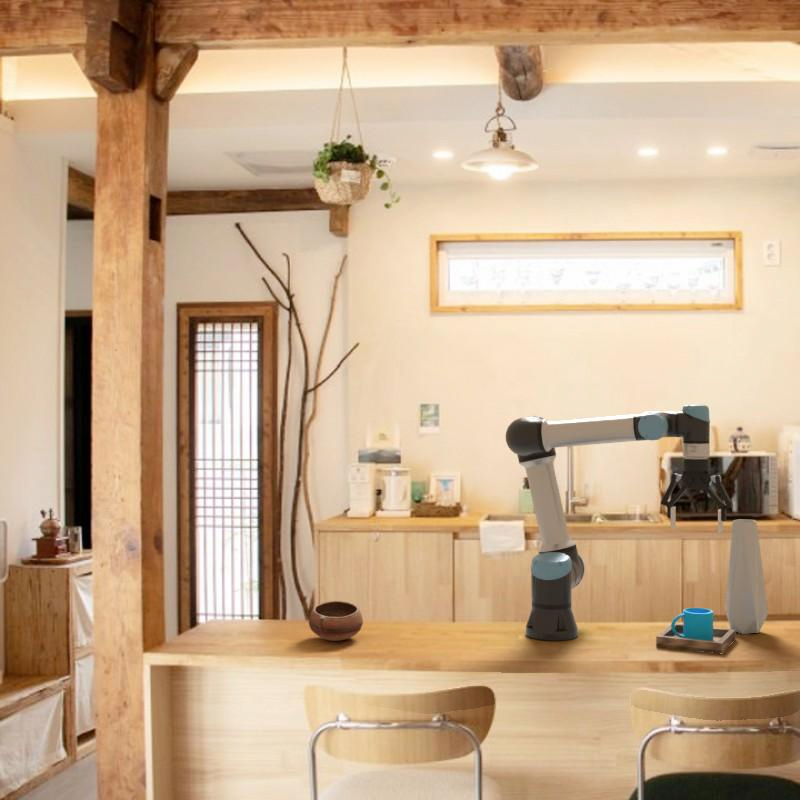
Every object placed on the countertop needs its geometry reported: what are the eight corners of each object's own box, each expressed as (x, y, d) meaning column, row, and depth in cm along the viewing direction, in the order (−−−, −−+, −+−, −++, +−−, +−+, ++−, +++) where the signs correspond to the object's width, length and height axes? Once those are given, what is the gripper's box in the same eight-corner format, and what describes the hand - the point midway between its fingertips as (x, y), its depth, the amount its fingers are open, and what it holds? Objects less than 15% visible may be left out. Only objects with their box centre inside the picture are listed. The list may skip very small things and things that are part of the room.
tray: (656, 646, 297) (656, 636, 297) (672, 633, 313) (672, 623, 313) (722, 654, 288) (722, 643, 288) (735, 640, 304) (735, 629, 304)
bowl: (312, 647, 300) (312, 612, 300) (306, 634, 315) (305, 600, 315) (367, 644, 303) (367, 609, 303) (358, 631, 318) (357, 598, 318)
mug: (706, 635, 306) (706, 607, 306) (717, 642, 298) (717, 613, 297) (666, 636, 304) (666, 608, 304) (676, 643, 296) (676, 614, 296)
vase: (771, 637, 307) (771, 523, 307) (730, 636, 309) (729, 523, 308) (764, 627, 319) (763, 518, 319) (724, 626, 321) (723, 517, 320)
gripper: (650, 457, 311) (650, 529, 312) (737, 459, 299) (737, 535, 299) (657, 455, 318) (657, 526, 318) (743, 458, 306) (743, 531, 306)
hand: (696, 530), depth 309 cm, fingers open, 13 cm apart
